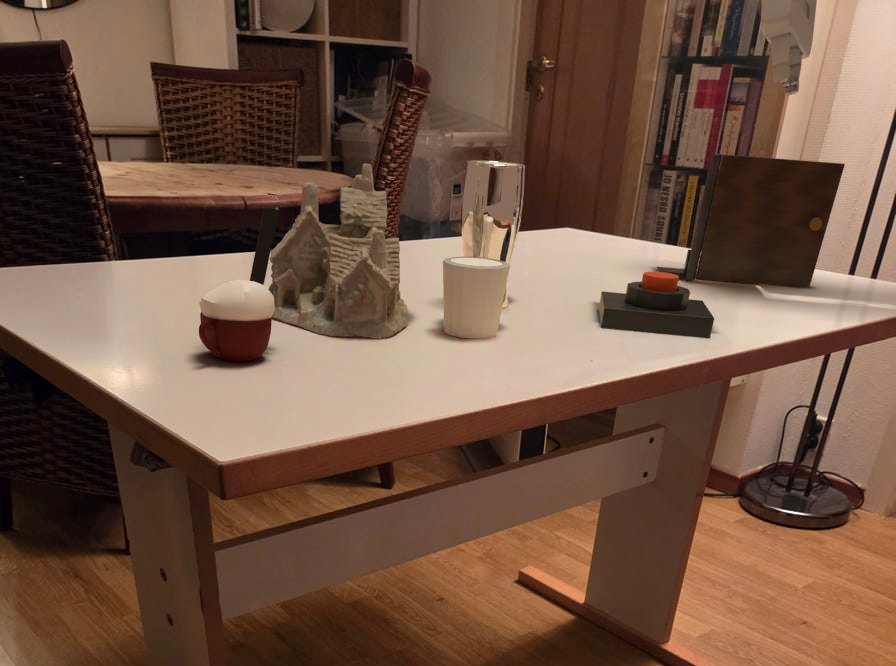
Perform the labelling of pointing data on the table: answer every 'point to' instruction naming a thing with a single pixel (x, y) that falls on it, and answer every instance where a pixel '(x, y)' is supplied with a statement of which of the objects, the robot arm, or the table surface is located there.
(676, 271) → the gray angle bracket
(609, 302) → the buzzer
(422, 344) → the table surface
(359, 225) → the ceramic cottage
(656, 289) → the button
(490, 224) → the beer glass
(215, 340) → the cocoa
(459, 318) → the white cup
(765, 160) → the door
